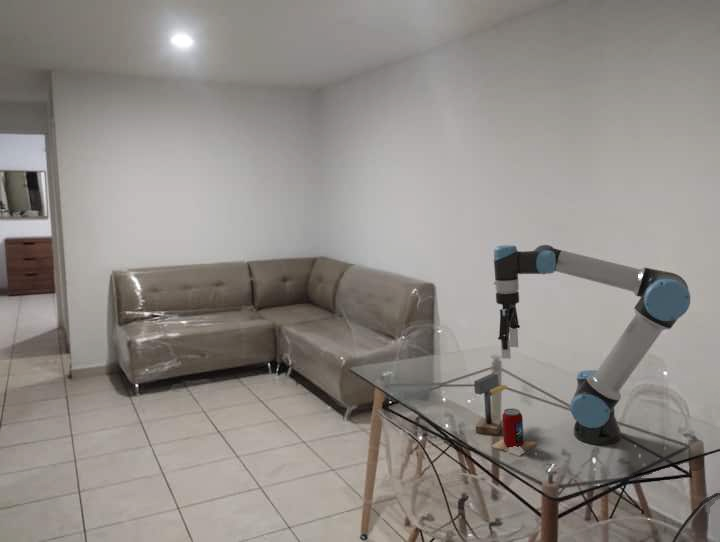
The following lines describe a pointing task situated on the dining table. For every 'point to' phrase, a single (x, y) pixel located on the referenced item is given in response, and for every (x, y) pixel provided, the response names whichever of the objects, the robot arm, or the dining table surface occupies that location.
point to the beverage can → (512, 427)
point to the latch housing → (489, 426)
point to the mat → (505, 448)
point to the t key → (488, 391)
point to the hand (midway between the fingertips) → (510, 352)
